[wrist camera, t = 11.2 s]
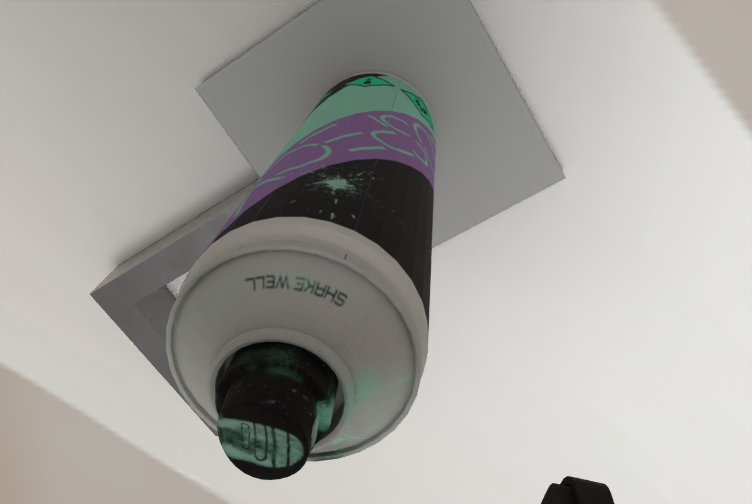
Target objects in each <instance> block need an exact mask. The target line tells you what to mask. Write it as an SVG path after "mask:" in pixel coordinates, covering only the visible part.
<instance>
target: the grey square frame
mask: <svg viewBox="0 0 752 504" xmlns="http://www.w3.org/2000/svg"><path fill="white" fill-rule="evenodd" d="M259 179H260V178H259ZM259 179H257V180H256V181H254V182H253V183H251V184H249V185H248V186H246V187H244V188H243V189H241V190H240V191H238V192H236V193H235V194H233V195H232V196H230V197H228V198H227V199H225V200H224V201H222V202H220V203H219V204H217V205H215V206H214V207H212V208H211V209H209V210H207V211H206V212H204V213H203V214H201V215H199V216H198V217H196V218H195V219H193V220H191V221H190V222H188V223H186V224H185V225H183V226H182V227H180V228H178V229H177V230H175V231H174V232H172V233H170V234H169V235H167V236H165V237H164V238H162V239H161V240H159V241H157V242H156V243H154V244H153V245H151V246H149V247H148V248H146V249H145V250H143V251H141V252H140V253H138V254H136V255H135V256H133V257H132V258H130V259H128V260H127V261H125V262H124V263H122V264H120V265H119V266H117V267H116V268H115V269H114V270H113V271H112V272H111V273H110V274H109V275H108V276H107V277H106V278H105V279H104V280H103V281H102V282H101V283H100V284H99V285H98V286H97V287H96V288H95V289H94V290H93V291H92V292H91V293H90V295H91V296H92V297H93V298H94V300H95V301H96V302H97V303H98V304H99V305H100V306H101V307H102V309H103V310H104V311H105V312H106V313H107V314H108V315H109V316H110V318H111V319H112V320H113V321H114V322H115V323H116V324H117V325H118V327H119V328H120V329H121V330H122V331H123V332H124V333H125V334H126V336H127V337H128V338H129V339H130V340H131V341H132V342H133V343H134V345H135V346H136V347H137V348H138V349H139V350H140V351H141V352H142V354H143V355H144V356H145V357H146V358H147V359H148V360H149V361H150V362H151V364H152V365H153V366H154V367H155V368H156V369H157V370H158V371H159V373H160V374H161V375H162V376H163V377H164V378H165V379H166V380H167V382H168V383H169V384H170V385H171V386H172V387H173V388H174V389H175V391H176V392H177V393H178V394H179V395H180V396H181V397H182V398H183V400H184V401H185V402H186V403H187V404H188V405H189V403H188V402H187V400H186V399H185V398H184V396H183V395H182V393H181V392H180V390H179V388H178V386H177V384H176V382H175V379H174V377H173V375H172V373H171V370H170V366H169V361H168V357H167V352H166V327H167V323H168V320H169V316H170V312H171V308H172V306H173V304H174V303H175V301H176V298H175V297H174V296H173V295H172V294H171V292H170V291H169V290H168V289H167V288H166V286H165V285H166V284H167V283H169V282H171V281H173V280H174V279H176V278H178V277H179V276H181V275H183V274H184V273H186V272H188V271H189V270H190V269H191V267H192V266H193V265H194V264H195V262H196V261H197V260H198V258H199V257H200V256H201V254H202V253H203V252H204V251H205V249H206V248H207V247H208V245H209V244H210V243H211V242H212V240H213V239H214V238H215V236H216V235H217V234H218V232H219V231H220V230H221V229H222V227H223V226H224V225H225V223H226V222H227V221H228V220H229V218H230V217H231V216H232V214H233V213H234V212H235V210H236V209H237V208H238V207H239V205H240V204H241V203H242V201H243V200H244V199H245V197H246V196H247V195H248V194H249V192H250V191H251V190H252V188H253V187H254V186H255V185H256V183H257V182H258V181H259ZM189 406H190V405H189ZM190 407H191V406H190ZM191 409H192V408H191ZM192 410H193V409H192ZM193 411H194V410H193ZM194 412H195V411H194ZM195 413H196V412H195ZM196 414H197V413H196ZM197 415H198V414H197ZM198 416H199V415H198ZM199 418H200V419H201V420H202V421H203V422H204V423H205V424H206V425H207V427H208V428H209V429H210V430H211V431H212V432H213V433H214V434H215V436H218V431H216V430H215V429H214V428H212V427H211V426H209V425H208V424H207V423H206V422H205V421H204V420H203V419H202V418H201V417H200V416H199Z"/></svg>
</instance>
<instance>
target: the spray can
mask: <svg viewBox="0 0 752 504" xmlns="http://www.w3.org/2000/svg"><path fill="white" fill-rule="evenodd" d="M435 155H436V126H435V121H434V116H433V113H432V111H431V108H430V106H429V104H428V102H427V100H426V99H425V98H424V96H423V95H422V93H421V92H420V91H419V90H418V89H417V88H416V87H415V86H414V85H413V84H411V83H410V82H408V81H406V80H405V79H403V78H402V77H399V76H397V75H394V74H391V73H387V72H381V71H365V72H360V73H356V74H353V75H351V76H348V77H346V78H344V79H342V80H341V81H340V82H338V83H337V84H336V85H334V86H333V87H332V88H331V89H330V90H329V91H328V92H327V93H326V94H325V95H324V96H323V98H322V99H321V100H320V102H319V103H318V104H317V105H316V107H315V108H314V109H313V111H312V112H311V113H310V115H309V116H308V117H307V118H306V120H305V121H304V122H303V124H302V125H301V126H300V127H299V129H298V130H297V131H296V133H295V134H294V135H293V137H292V138H291V139H290V140H289V142H288V143H287V144H286V146H285V147H284V148H283V150H282V151H281V152H280V153H279V155H278V156H277V157H276V159H275V160H274V161H273V162H272V164H271V165H270V166H269V168H268V169H267V170H266V172H265V173H264V174H263V175H262V177H261V178H260V179H259V181H258V182H257V183H256V185H255V186H254V187H253V188H252V190H251V191H250V192H249V194H248V195H247V196H246V197H245V199H244V200H243V201H242V203H241V204H240V205H239V207H238V208H237V209H236V210H235V212H234V213H233V214H232V216H231V217H230V218H229V220H228V221H227V222H226V223H225V225H224V226H223V227H222V229H221V230H220V231H219V232H218V234H217V235H216V236H215V238H214V239H213V240H212V242H211V243H210V244H209V245H208V247H207V248H206V249H205V251H204V252H203V253H202V254H201V256H200V257H199V258H198V260H197V261H196V262H195V264H194V265H193V266H192V267H191V269H190V271H189V273H188V275H187V277H186V278H185V280H184V282H183V284H182V286H181V288H180V292H179V295H178V297H177V299H176V301H175V303H174V304H173V306H172V308H171V312H170V316H169V320H168V323H167V327H166V352H167V357H168V361H169V366H170V370H171V373H172V375H173V377H174V379H175V382H176V384H177V386H178V388H179V390H180V392H181V393H182V395H183V396H184V398H185V399H186V400H187V402H188V403H189V405H190V406H191V408H192V409H193V410H194V411H195V412H196V413H197V414H198V415H199V416H200V417H201V418H202V419H203V420H204V421H205V422H206V423H207V424H208V425H209V426H211V427H212V428H214V429H215V430H216V431H218V437H219V440H220V443H221V445H222V448H223V450H224V452H225V453H226V455H227V457H228V458H229V459H230V461H231V462H232V463H233V464H234V465H235V466H236V467H237V468H238V469H240V470H241V471H242V472H244V473H245V474H248V475H250V476H252V477H254V478H258V479H264V480H275V479H282V478H285V477H289V476H291V475H293V474H295V473H296V472H298V471H299V470H300V469H301V468H302V467H303V466H304V464H305V463H306V461H322V460H330V459H338V458H341V457H345V456H348V455H352V454H355V453H358V452H361V451H363V450H364V449H366V448H368V447H370V446H372V445H374V444H376V443H378V442H379V441H381V440H382V439H383V438H385V437H386V436H387V435H388V434H390V433H391V432H392V431H393V430H395V428H396V427H397V426H398V425H399V424H400V422H401V421H402V420H403V419H404V418H405V416H406V415H407V414H408V412H409V410H410V408H411V406H412V404H413V402H414V400H415V398H416V396H417V392H418V388H419V383H420V379H421V376H422V374H423V371H424V366H425V362H426V358H427V353H428V328H429V304H430V279H431V254H432V230H433V205H434V180H435Z"/></svg>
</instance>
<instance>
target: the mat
mask: <svg viewBox="0 0 752 504" xmlns="http://www.w3.org/2000/svg"><path fill="white" fill-rule="evenodd" d="M365 71H381V72H387V73H391V74H394V75H397V76H399V77H402V78H403V79H405V80H406V81H408V82H410V83H411V84H413V85H414V86H415V87H416V88H417V89H418V90H419V91H420V92H421V93H422V95H423V96H424V98H425V99H426V100H427V102H428V104H429V106H430V108H431V111H432V113H433V116H434V121H435V126H436V155H435V180H434V205H433V230H432V248H433V247H435V246H437V245H439V244H441V243H443V242H445V241H447V240H449V239H450V238H452V237H454V236H456V235H458V234H460V233H462V232H464V231H466V230H468V229H470V228H471V227H473V226H475V225H477V224H479V223H481V222H483V221H485V220H487V219H489V218H490V217H492V216H494V215H496V214H498V213H500V212H502V211H504V210H506V209H508V208H509V207H511V206H513V205H515V204H517V203H519V202H521V201H523V200H525V199H527V198H528V197H530V196H532V195H534V194H536V193H538V192H540V191H542V190H544V189H546V188H547V187H549V186H551V185H553V184H555V183H557V182H559V181H561V180H563V179H565V178H566V177H565V175H564V173H563V171H562V170H561V168H560V166H559V164H558V162H557V160H556V158H555V157H554V155H553V153H552V151H551V149H550V147H549V146H548V144H547V142H546V140H545V138H544V136H543V135H542V133H541V131H540V129H539V127H538V125H537V123H536V122H535V120H534V118H533V116H532V114H531V112H530V111H529V109H528V107H527V105H526V103H525V101H524V100H523V98H522V96H521V94H520V92H519V90H518V88H517V87H516V85H515V83H514V81H513V79H512V77H511V76H510V74H509V72H508V70H507V68H506V66H505V65H504V63H503V61H502V59H501V57H500V55H499V53H498V52H497V50H496V48H495V46H494V44H493V42H492V41H491V39H490V37H489V35H488V33H487V31H486V30H485V28H484V26H483V24H482V22H481V20H480V18H479V17H478V15H477V13H476V11H475V9H474V7H473V6H472V4H471V2H470V0H320V1H319V2H318V3H316V4H315V5H313V6H312V7H310V8H309V9H308V10H306V11H305V12H303V13H302V14H300V15H299V16H298V17H296V18H295V19H293V20H292V21H290V22H289V23H288V24H286V25H285V26H283V27H282V28H280V29H279V30H278V31H276V32H275V33H273V34H272V35H270V36H269V37H268V38H266V39H265V40H263V41H262V42H260V43H259V44H258V45H256V46H255V47H253V48H252V49H250V50H249V51H248V52H246V53H245V54H243V55H242V56H240V57H239V58H238V59H236V60H235V61H233V62H232V63H230V64H229V65H228V66H226V67H225V68H223V69H222V70H220V71H219V72H218V73H216V74H215V75H213V76H212V77H210V78H209V79H208V80H206V81H205V82H203V83H202V84H200V85H199V86H198V87H196V88H195V90H196V91H197V92H198V94H199V95H200V96H201V98H202V99H203V101H204V102H205V103H206V105H207V106H208V107H209V109H210V110H211V112H212V113H213V114H214V116H215V117H216V118H217V120H218V121H219V123H220V124H221V125H222V127H223V128H224V129H225V131H226V132H227V134H228V135H229V136H230V138H231V139H232V140H233V142H234V143H235V145H236V146H237V147H238V149H239V150H240V151H241V153H242V154H243V156H244V157H245V158H246V160H247V161H248V162H249V164H250V165H251V167H252V168H253V169H254V171H255V172H256V174H257V175H258V176H259V178H261V177H262V175H263V174H264V173H265V172H266V170H267V169H268V168H269V166H270V165H271V164H272V162H273V161H274V160H275V159H276V157H277V156H278V155H279V153H280V152H281V151H282V150H283V148H284V147H285V146H286V144H287V143H288V142H289V140H290V139H291V138H292V137H293V135H294V134H295V133H296V131H297V130H298V129H299V127H300V126H301V125H302V124H303V122H304V121H305V120H306V118H307V117H308V116H309V115H310V113H311V112H312V111H313V109H314V108H315V107H316V105H317V104H318V103H319V102H320V100H321V99H322V98H323V96H324V95H325V94H326V93H327V92H328V91H329V90H330V89H331V88H332V87H333V86H334V85H336V84H337V83H338V82H340V81H341V80H342V79H344V78H346V77H348V76H351V75H353V74H356V73H360V72H365Z"/></svg>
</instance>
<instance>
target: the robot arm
mask: <svg viewBox="0 0 752 504" xmlns="http://www.w3.org/2000/svg"><path fill="white" fill-rule="evenodd" d="M541 504H614V501H613V498H612V495H611V492H610V490H609V488H608V487H607V486H606V485H605V484H603V483H598V482H593V481H589V480H584V479H579V478H575V477H570V476H567V477H565V478H564V479H563V481H562V482H561V484H555V483H552V484H551V485H550V486H549V488H548V490H547V492H546V494H545V496H544V498H543V500H542V502H541Z"/></svg>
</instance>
